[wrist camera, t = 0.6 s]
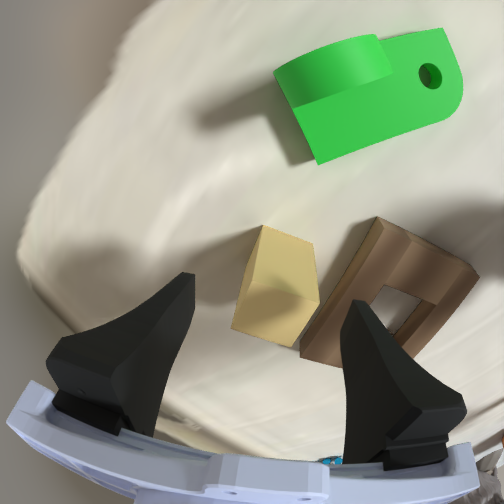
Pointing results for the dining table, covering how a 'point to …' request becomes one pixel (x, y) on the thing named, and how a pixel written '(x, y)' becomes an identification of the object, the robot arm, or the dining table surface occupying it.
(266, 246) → the sand colored cuboid
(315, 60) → the mechanical part
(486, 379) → the dining table surface
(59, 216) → the dining table surface
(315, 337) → the brown square frame
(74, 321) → the dining table surface
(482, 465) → the bust
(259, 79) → the dining table surface
